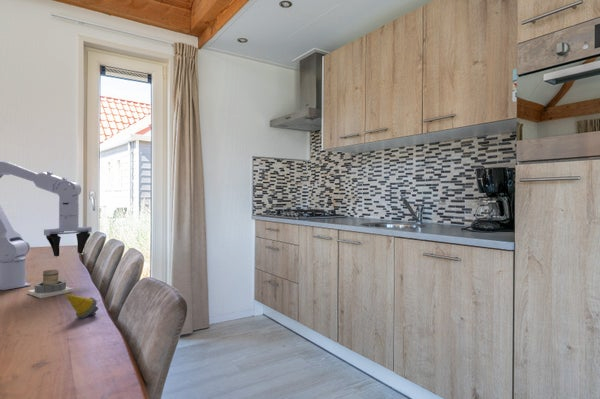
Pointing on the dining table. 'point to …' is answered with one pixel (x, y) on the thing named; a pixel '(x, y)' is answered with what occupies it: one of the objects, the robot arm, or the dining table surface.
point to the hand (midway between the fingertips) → (68, 254)
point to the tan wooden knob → (50, 277)
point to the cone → (82, 305)
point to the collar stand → (50, 289)
